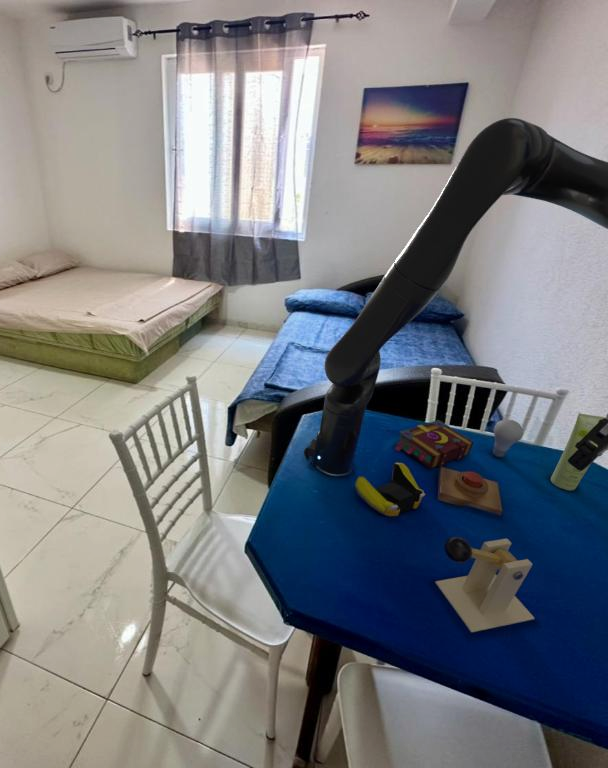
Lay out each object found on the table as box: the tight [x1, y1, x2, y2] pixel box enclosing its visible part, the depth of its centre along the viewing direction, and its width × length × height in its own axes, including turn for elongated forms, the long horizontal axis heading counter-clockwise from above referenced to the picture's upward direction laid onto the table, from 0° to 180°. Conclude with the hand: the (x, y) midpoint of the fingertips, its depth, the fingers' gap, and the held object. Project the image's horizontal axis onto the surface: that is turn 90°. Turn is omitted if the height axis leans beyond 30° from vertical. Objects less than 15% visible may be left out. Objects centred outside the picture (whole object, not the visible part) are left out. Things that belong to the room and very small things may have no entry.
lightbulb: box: [492, 418, 524, 458], centre depth 104 cm, size 6×6×11 cm
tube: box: [550, 412, 606, 491], centre depth 93 cm, size 6×5×20 cm
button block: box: [437, 466, 503, 516], centre depth 92 cm, size 12×10×4 cm
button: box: [463, 471, 484, 488], centre depth 91 cm, size 4×4×2 cm
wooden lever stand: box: [434, 538, 535, 633], centre depth 67 cm, size 12×9×13 cm
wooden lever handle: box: [443, 536, 519, 571], centre depth 62 cm, size 14×4×4 cm, turn 102°
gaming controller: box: [354, 462, 426, 517], centre depth 90 cm, size 15×6×10 cm
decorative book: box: [394, 419, 474, 469], centre depth 106 cm, size 11×16×5 cm
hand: (591, 456), depth 63 cm, fingers open, 8 cm apart
